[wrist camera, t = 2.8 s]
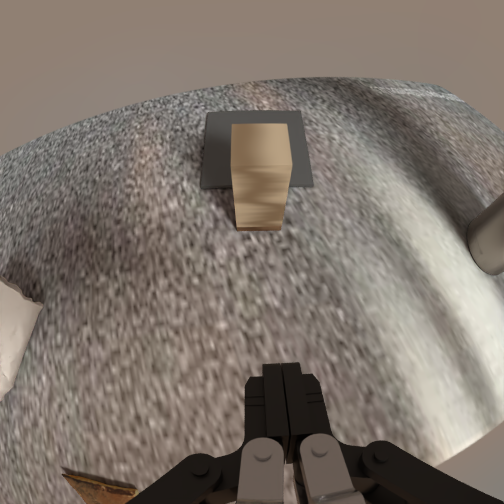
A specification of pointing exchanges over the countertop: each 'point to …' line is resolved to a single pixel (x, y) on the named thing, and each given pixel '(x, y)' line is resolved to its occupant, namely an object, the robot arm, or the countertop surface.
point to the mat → (219, 145)
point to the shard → (100, 491)
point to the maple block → (260, 175)
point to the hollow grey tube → (14, 331)
